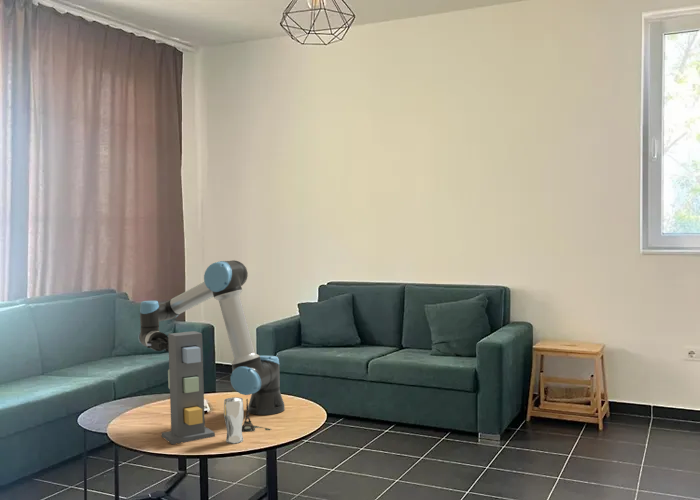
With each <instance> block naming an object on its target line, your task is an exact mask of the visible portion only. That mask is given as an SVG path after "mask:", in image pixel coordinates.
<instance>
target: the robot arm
mask: <svg viewBox="0 0 700 500" xmlns="http://www.w3.org/2000/svg"><path fill="white" fill-rule="evenodd" d="M248 276H249V275H248V269H247V267H246V266H245V264H244V263H242V262H241V261H238V260H235V259H234V260H221V261H220V260H219V261H217V262H213V263H211V264H209V266H207V268H206V270H205V271H204V275H203V280H204V281H203V282H201V283H200V284H197V285H194V287H191V288H190V289H188V290H186V291H184V292H182V293H181V294H178V295H176V296H174V297H173V298H171V299H169V300H167V301H165V302H162V303H159V301H158V300H143V301H141V302H140V305H139V317H140V318H139V320H140V321H139V322H140V331H139V333H138V335H137V339H138V342H139V344H141V345H142V346H144V347H145V348H147V349H152V350H153V351H156V352H163V351H164V350H165V352H169V341H168V334H166V333H164V332H161V331H160V322H164V321H168V320H173V319H176V318H177V317H179V315H181V314H183V313H184V312H187V311H188V310H190V309H192V308H194V307H196V306H198V305H200V304H202V303H204V302H206V301H208V300H209V299H211V298H214V299H215V300H217V301H218V303H219V306H220V312H221V314H222V319H223V322H224V326H225V330H226V332H227V333H226V334H227V336H228V340H229V344H230V349H231V352H232V356H233V359H232V362H231V368H232V372H231V374H230V377H229V378H230V379H229V380H230V384H231V387H232V388H233V389H234V390H235V391H236V393H239V394H240V395H243V396H249V395H250V399H249V401H248V412H249V414H252V415H255V416H256V415H258V416H265V415H266V416H267V415H268V416H269V415H275V414H276V415H277V414H279V413H282V412H284V411H285V409H286V408H285V402H284V399H283V396H282V394H281V386H280V385H281V384H280V382H281V381H280V379H281V378H280V365H281V364H280V359H279V357H278V356H275V355H259V354H257V353H256V352H255V348H254V344H253V341H252V336H251V333H250V329H249V325H248V321H247V318H246V315H245V311H244V306H243V303H242V299H241V293H242V292H243V288H242V286H243V285H244V284H245V283H246V282H247V280H248Z"/></svg>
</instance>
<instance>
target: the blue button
mask: <svg viewBox="0 0 700 500" xmlns="http://www.w3.org/2000/svg"><path fill="white" fill-rule="evenodd" d="M181 353H182V362H185V363H187V364H188V363H196V362H201V348H199V347H196V346H185V347H181Z"/></svg>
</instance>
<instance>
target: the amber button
mask: <svg viewBox="0 0 700 500" xmlns="http://www.w3.org/2000/svg"><path fill="white" fill-rule="evenodd" d="M183 421H184V422H185V423H186V424H188V425H194V424H200V423H203V417H202V409H201V408H199V407H198V406H191V407H185V408H183Z"/></svg>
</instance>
